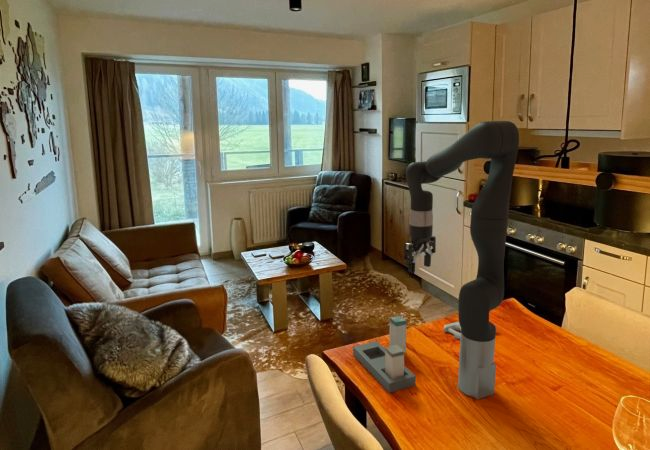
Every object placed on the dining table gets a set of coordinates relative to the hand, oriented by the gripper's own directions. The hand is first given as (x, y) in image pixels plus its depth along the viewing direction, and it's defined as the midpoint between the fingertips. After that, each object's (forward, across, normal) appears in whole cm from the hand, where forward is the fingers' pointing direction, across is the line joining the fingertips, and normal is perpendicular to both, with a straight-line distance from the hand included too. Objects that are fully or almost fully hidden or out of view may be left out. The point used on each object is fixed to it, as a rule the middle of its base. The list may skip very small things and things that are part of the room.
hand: (419, 269), depth 146 cm
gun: (+28, +20, -8) cm, 35 cm away
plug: (+27, -10, 0) cm, 29 cm away
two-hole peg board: (+27, -22, -3) cm, 35 cm away
